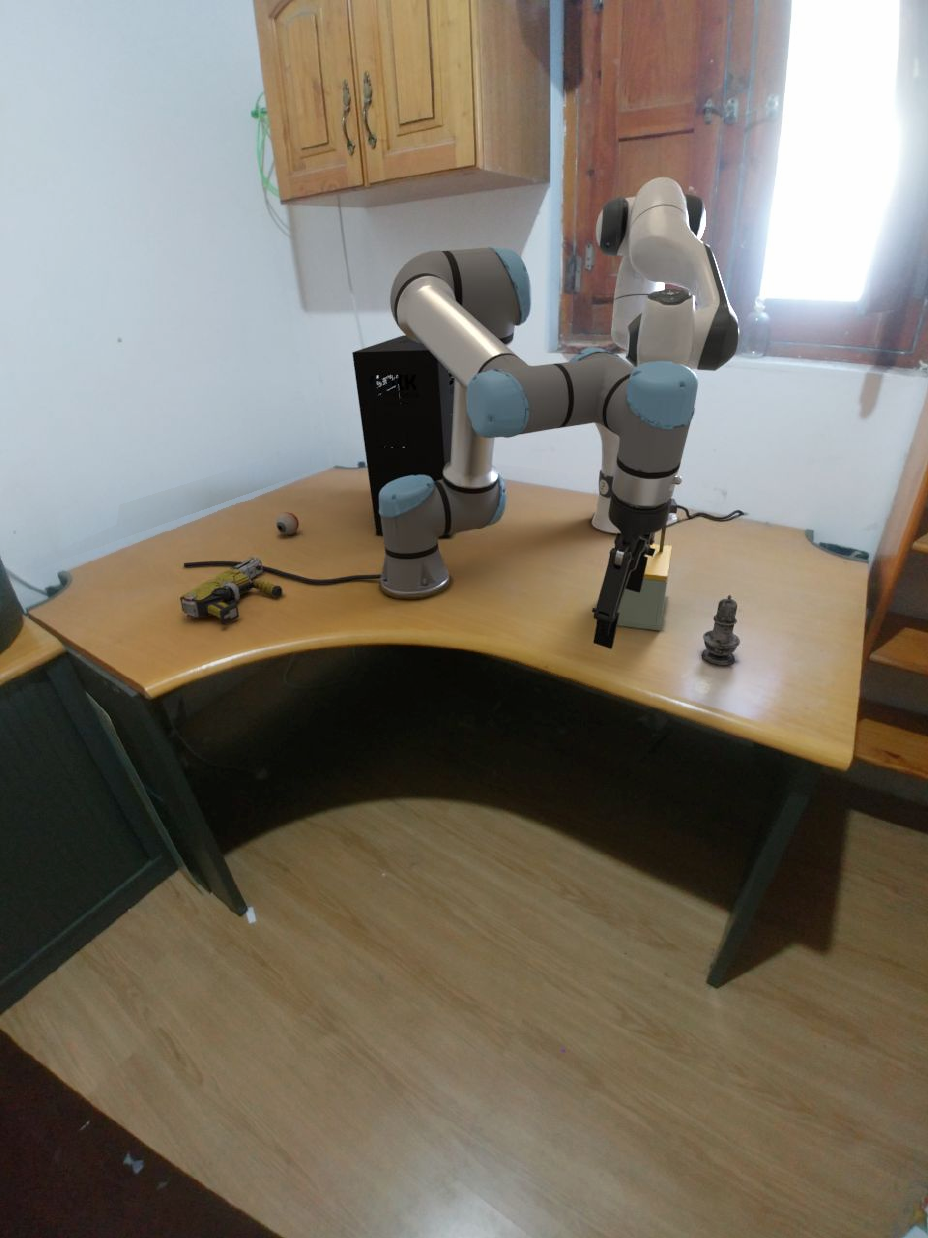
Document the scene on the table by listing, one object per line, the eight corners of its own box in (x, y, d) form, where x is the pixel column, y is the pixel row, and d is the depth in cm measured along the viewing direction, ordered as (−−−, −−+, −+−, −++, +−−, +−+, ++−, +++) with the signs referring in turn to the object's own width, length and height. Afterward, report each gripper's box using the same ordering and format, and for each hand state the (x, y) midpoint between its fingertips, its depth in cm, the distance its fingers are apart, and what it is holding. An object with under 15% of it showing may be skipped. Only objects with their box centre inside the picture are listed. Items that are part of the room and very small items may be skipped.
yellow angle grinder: (303, 565, 139) (248, 554, 143) (236, 611, 119) (174, 596, 122) (305, 584, 141) (250, 572, 145) (239, 632, 121) (178, 617, 125)
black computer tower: (449, 537, 157) (436, 349, 134) (376, 534, 161) (352, 352, 139) (479, 491, 188) (473, 332, 166) (417, 489, 193) (403, 335, 170)
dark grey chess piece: (739, 667, 101) (752, 604, 95) (702, 664, 102) (713, 602, 96) (733, 648, 106) (745, 587, 100) (697, 646, 107) (708, 585, 101)
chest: (614, 592, 127) (617, 547, 122) (665, 597, 123) (671, 551, 118) (604, 623, 116) (608, 575, 111) (660, 630, 113) (666, 581, 107)
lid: (618, 545, 122) (621, 503, 118) (671, 550, 119) (677, 506, 114) (608, 575, 111) (611, 529, 106) (666, 581, 107) (672, 534, 103)
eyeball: (273, 537, 164) (268, 516, 161) (287, 528, 169) (282, 508, 166) (291, 539, 161) (286, 518, 158) (305, 530, 166) (301, 510, 163)
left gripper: (642, 556, 67) (615, 680, 82) (695, 455, 83) (665, 575, 97) (578, 538, 70) (563, 662, 84) (641, 444, 85) (619, 562, 100)
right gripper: (646, 386, 113) (639, 460, 119) (633, 409, 96) (626, 493, 103) (681, 387, 111) (672, 462, 117) (675, 410, 94) (665, 495, 101)
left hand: (618, 615), depth 91 cm, fingers open, 13 cm apart
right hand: (650, 477), depth 110 cm, fingers open, 8 cm apart
